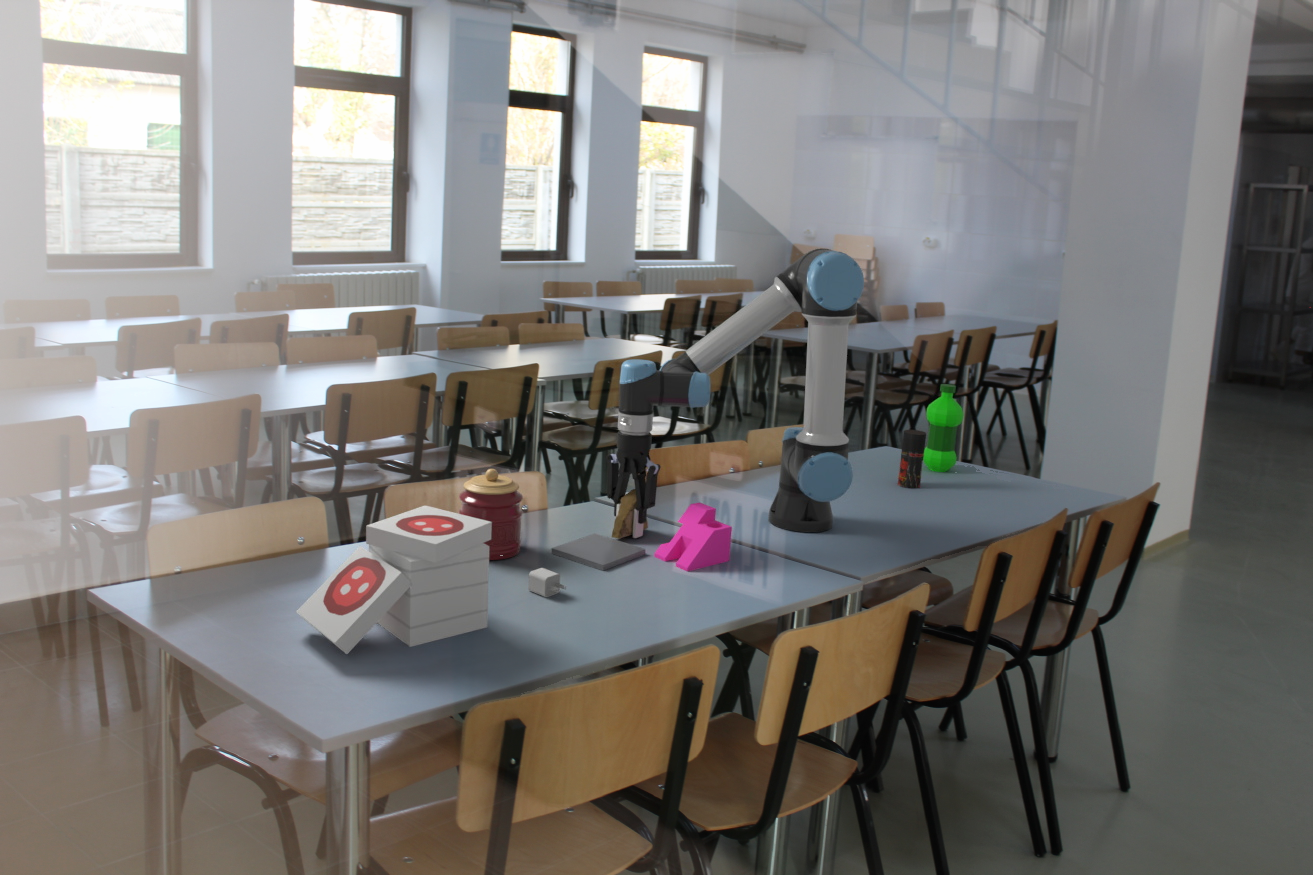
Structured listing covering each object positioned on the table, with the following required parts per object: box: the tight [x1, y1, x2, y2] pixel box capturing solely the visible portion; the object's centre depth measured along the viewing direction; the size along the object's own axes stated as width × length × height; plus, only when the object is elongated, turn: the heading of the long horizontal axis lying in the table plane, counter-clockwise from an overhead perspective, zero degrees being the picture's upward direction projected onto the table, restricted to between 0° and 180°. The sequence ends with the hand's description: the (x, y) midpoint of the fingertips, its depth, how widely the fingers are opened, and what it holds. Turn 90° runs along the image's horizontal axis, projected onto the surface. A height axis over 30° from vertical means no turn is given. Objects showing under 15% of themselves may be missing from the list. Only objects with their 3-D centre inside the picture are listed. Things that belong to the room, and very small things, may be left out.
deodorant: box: [897, 429, 927, 490], centre depth 296 cm, size 6×6×15 cm
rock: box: [611, 488, 649, 539], centre depth 241 cm, size 11×9×10 cm
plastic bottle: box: [923, 383, 964, 473], centre depth 314 cm, size 10×10×25 cm
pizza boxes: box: [295, 505, 492, 655], centre depth 183 cm, size 19×30×18 cm, turn 131°
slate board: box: [550, 533, 646, 571], centre depth 228 cm, size 14×14×1 cm
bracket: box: [654, 501, 733, 572], centre depth 228 cm, size 12×10×10 cm
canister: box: [458, 468, 524, 561], centre depth 224 cm, size 13×13×18 cm
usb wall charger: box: [527, 567, 567, 598], centre depth 205 cm, size 4×7×4 cm, turn 51°
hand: (629, 533), depth 241 cm, fingers closed on rock, 4 cm apart
